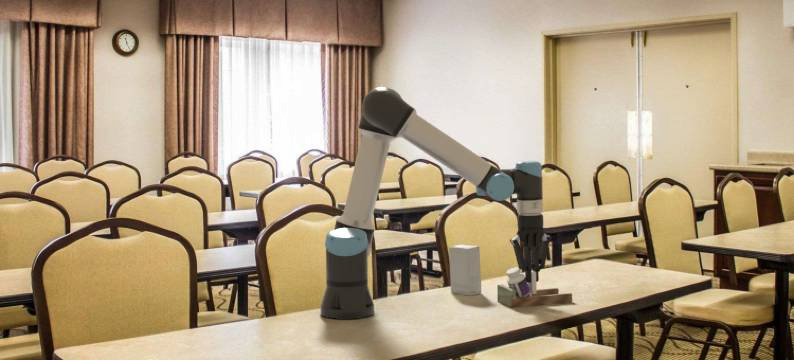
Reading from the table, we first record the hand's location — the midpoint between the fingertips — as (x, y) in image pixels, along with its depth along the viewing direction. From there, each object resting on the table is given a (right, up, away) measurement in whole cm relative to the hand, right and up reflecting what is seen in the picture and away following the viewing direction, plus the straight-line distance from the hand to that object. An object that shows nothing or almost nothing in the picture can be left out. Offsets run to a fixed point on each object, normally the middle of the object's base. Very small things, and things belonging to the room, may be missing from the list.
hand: (532, 293), depth 266 cm
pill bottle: (-3, -2, -1) cm, 3 cm away
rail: (+1, -3, +1) cm, 3 cm away
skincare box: (-19, -2, +14) cm, 24 cm away
